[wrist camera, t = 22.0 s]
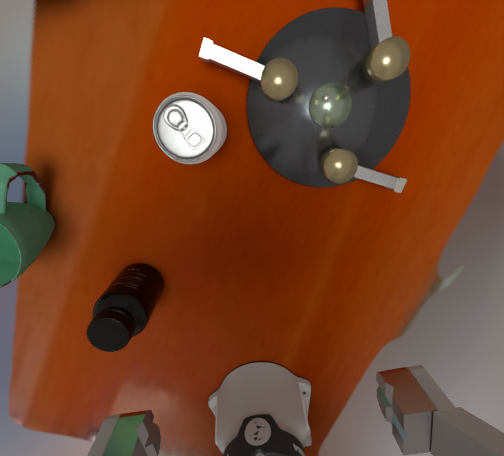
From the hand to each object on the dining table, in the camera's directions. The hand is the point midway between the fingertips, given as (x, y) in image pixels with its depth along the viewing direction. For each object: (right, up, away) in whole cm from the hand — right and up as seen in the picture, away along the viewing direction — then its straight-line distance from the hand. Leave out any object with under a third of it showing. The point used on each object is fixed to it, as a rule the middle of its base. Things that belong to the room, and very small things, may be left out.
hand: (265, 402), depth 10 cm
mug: (-30, +9, +29) cm, 42 cm away
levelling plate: (+9, +22, +26) cm, 35 cm away
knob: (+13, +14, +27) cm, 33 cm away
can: (-7, +19, +26) cm, 33 cm away
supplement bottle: (-17, -2, +33) cm, 38 cm away
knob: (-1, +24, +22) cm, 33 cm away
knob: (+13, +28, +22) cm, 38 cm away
